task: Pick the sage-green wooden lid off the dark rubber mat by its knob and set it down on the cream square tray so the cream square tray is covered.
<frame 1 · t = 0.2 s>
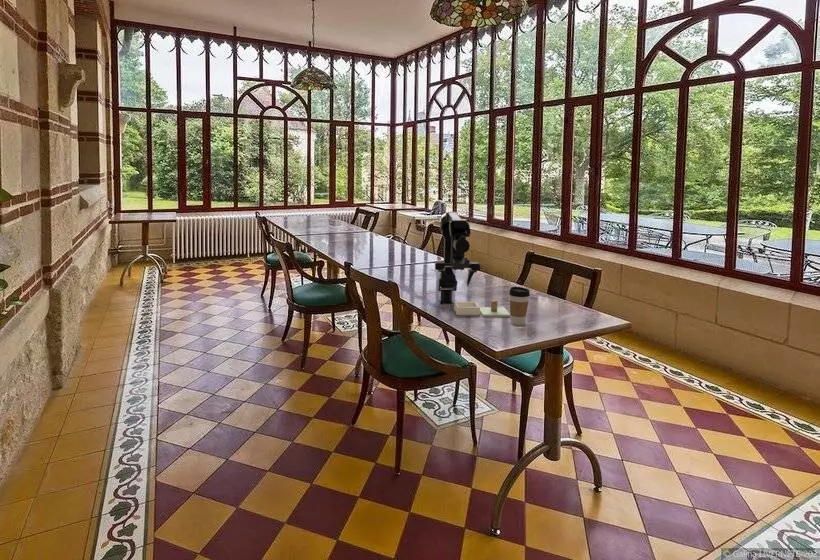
hand: (456, 285, 225), 14 cm above the table, fingers open, 9 cm apart
coffee cup: (517, 324, 223), on the table
cream square tray: (466, 313, 237), on the table
lid: (494, 307, 236), on the mat
mat: (493, 313, 237), on the table
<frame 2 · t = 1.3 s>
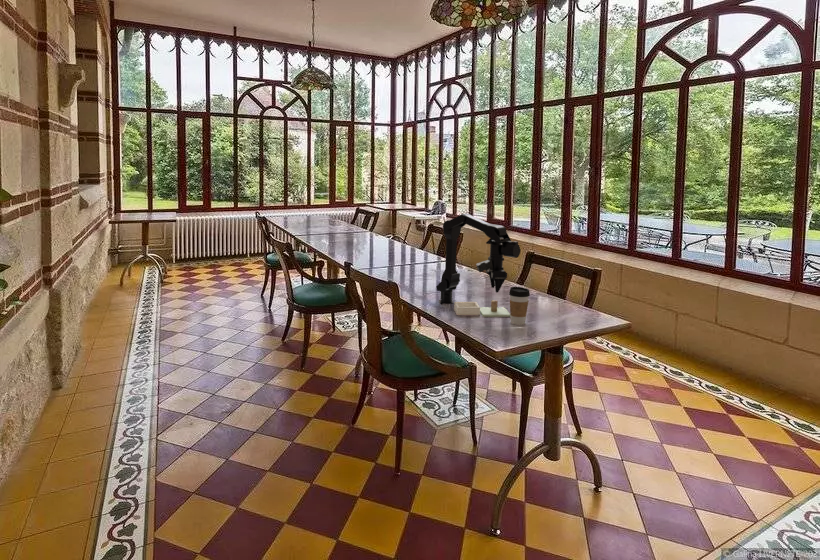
hand: (494, 290, 235), 11 cm above the table, fingers open, 9 cm apart
nothing on the table moved.
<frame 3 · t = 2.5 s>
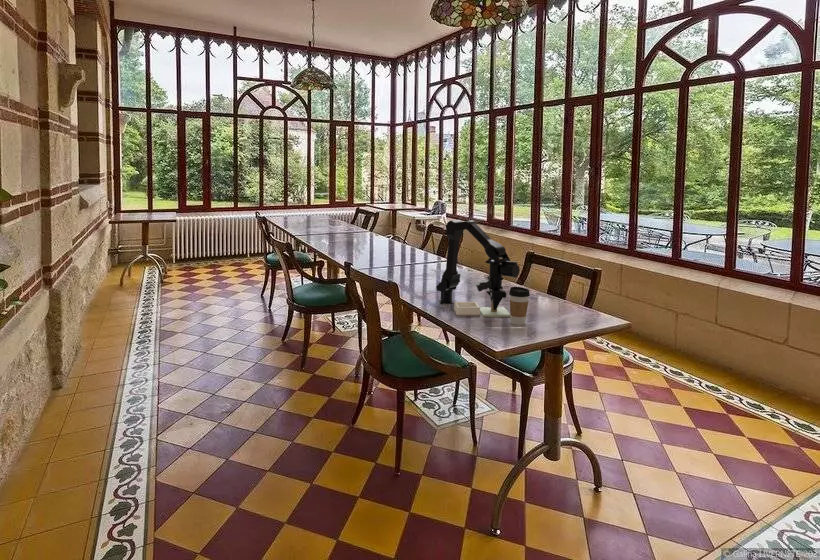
hand: (494, 308, 236), 2 cm above the table, fingers closed on lid, 3 cm apart
lid: (494, 307, 236), on the mat, touching gripper
everything else where it was.
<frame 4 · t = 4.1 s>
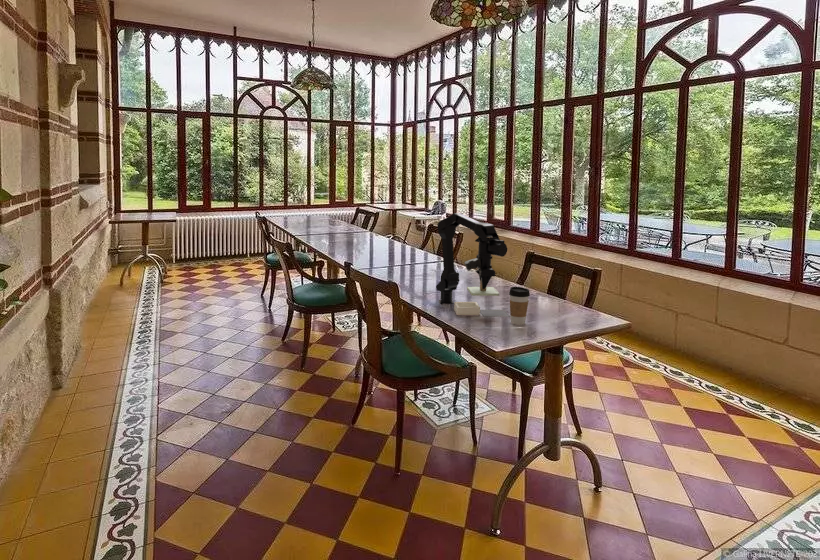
hand: (482, 288, 235), 12 cm above the table, fingers closed on lid, 3 cm apart
lid: (483, 286, 235), point 12 cm above the table, touching gripper
everything else where it was.
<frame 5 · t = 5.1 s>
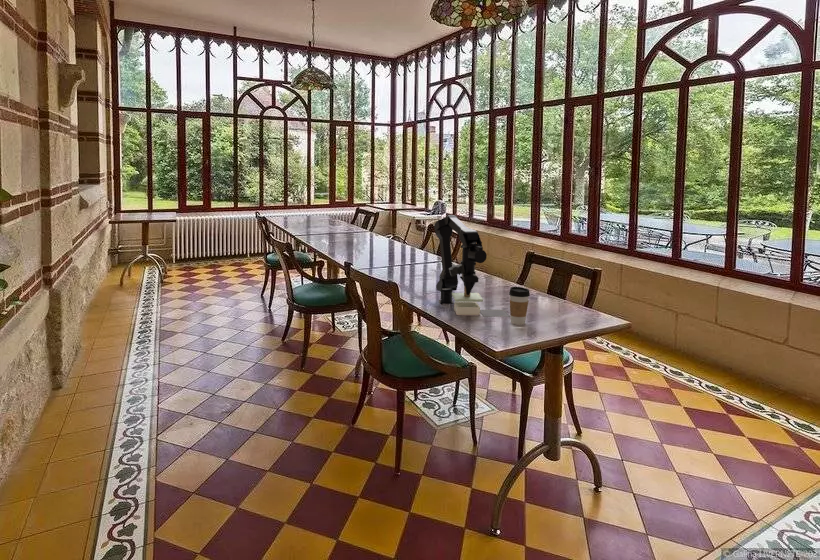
hand: (467, 294, 236), 9 cm above the table, fingers closed on lid, 3 cm apart
lid: (467, 292, 235), point 10 cm above the table, touching gripper
everything else where it was.
when the fingers open (8 cm above the table, at t = 5.5 s): lid drops 2 cm, resting on cream square tray.
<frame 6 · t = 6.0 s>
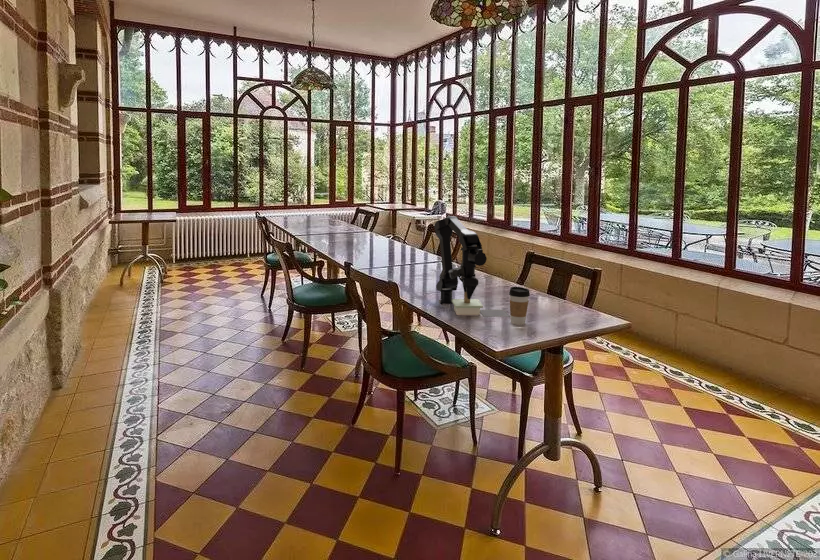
hand: (467, 296, 236), 8 cm above the table, fingers open, 8 cm apart
lid: (467, 298, 236), on the cream square tray, point 7 cm above the table
everything else where it was.
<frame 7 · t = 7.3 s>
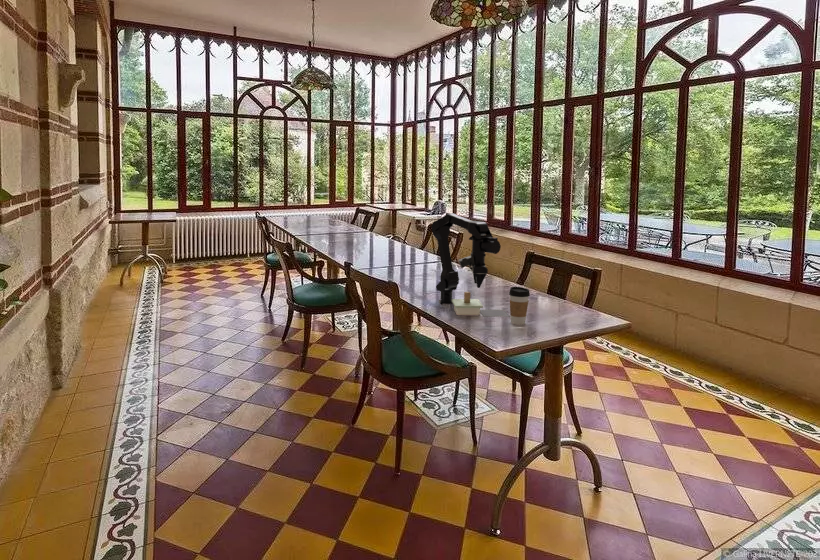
hand: (477, 285, 238), 12 cm above the table, fingers open, 9 cm apart
nothing on the table moved.
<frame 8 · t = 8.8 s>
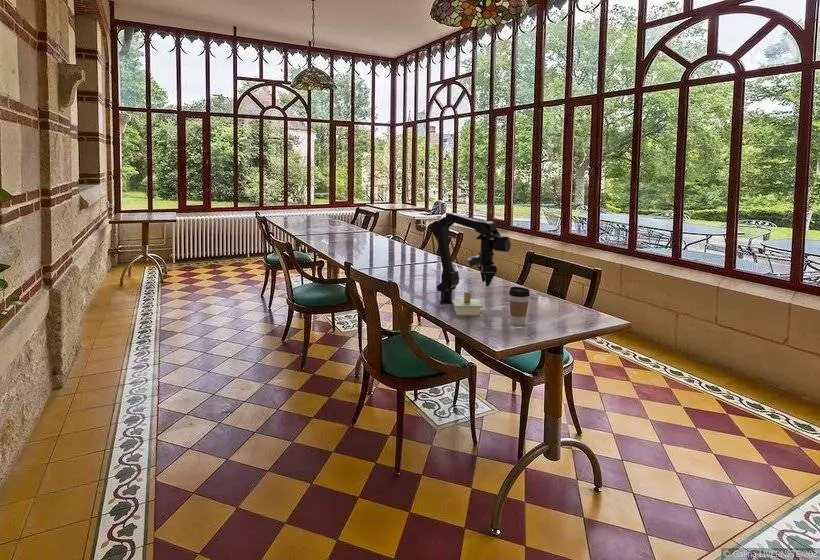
hand: (485, 284, 241), 12 cm above the table, fingers open, 9 cm apart
nothing on the table moved.
at the end: lid 0.1 cm off-centre on the cream square tray, point 6.7 cm above the cream square tray's base; lid tilted 0°; the gripper is holding nothing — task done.
